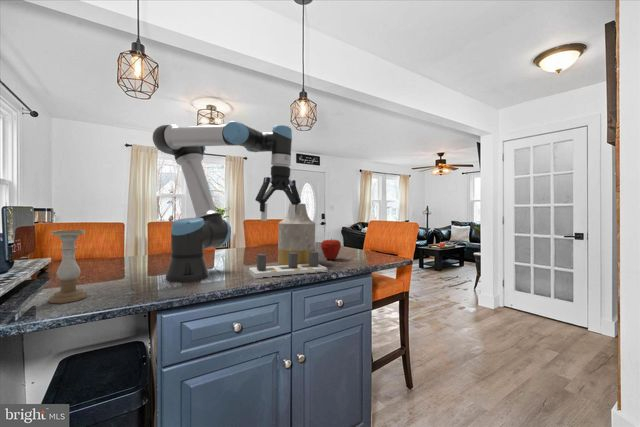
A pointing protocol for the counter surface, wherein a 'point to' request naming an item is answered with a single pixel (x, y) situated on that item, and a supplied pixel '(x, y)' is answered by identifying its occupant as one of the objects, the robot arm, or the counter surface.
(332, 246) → the apple
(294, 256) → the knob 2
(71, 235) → the candle holder
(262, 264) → the block
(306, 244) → the vase
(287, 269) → the switch board
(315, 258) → the knob
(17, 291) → the counter surface
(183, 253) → the robot arm
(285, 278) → the counter surface
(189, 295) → the counter surface
